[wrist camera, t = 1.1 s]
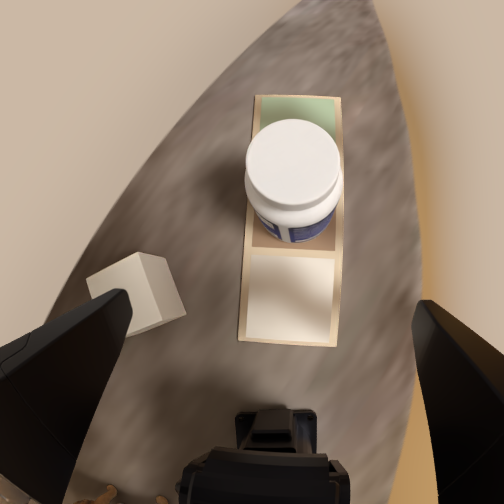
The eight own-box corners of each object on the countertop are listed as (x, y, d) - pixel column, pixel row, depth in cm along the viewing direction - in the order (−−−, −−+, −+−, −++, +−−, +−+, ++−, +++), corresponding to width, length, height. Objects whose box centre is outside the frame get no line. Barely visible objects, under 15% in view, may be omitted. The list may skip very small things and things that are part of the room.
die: (187, 314, 25) (162, 320, 20) (138, 334, 26) (106, 342, 21) (165, 258, 26) (137, 251, 21) (118, 280, 27) (85, 278, 22)
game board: (335, 346, 23) (336, 346, 23) (238, 339, 25) (237, 340, 24) (340, 98, 25) (340, 97, 25) (255, 96, 27) (255, 94, 26)
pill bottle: (335, 179, 25) (355, 118, 15) (326, 250, 24) (345, 226, 14) (265, 169, 25) (245, 104, 16) (252, 237, 25) (224, 207, 15)
